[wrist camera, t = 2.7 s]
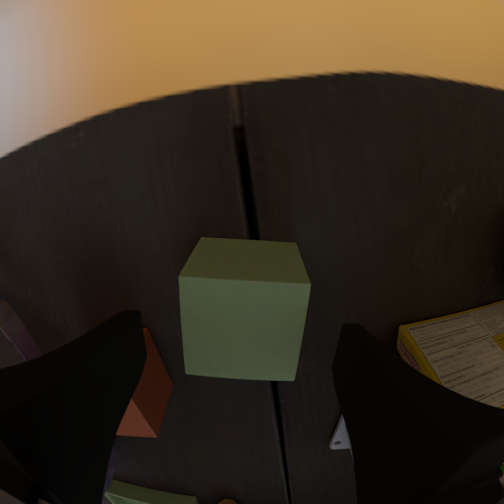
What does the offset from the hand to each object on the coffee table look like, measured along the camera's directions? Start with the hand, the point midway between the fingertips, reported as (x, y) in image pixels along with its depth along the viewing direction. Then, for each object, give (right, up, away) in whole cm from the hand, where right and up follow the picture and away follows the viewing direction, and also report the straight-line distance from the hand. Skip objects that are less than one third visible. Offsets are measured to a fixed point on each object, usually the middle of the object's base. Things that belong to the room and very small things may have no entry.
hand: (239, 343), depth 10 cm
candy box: (+17, -1, +6) cm, 18 cm away
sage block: (0, +2, +5) cm, 5 cm away
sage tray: (-11, -29, +16) cm, 35 cm away
